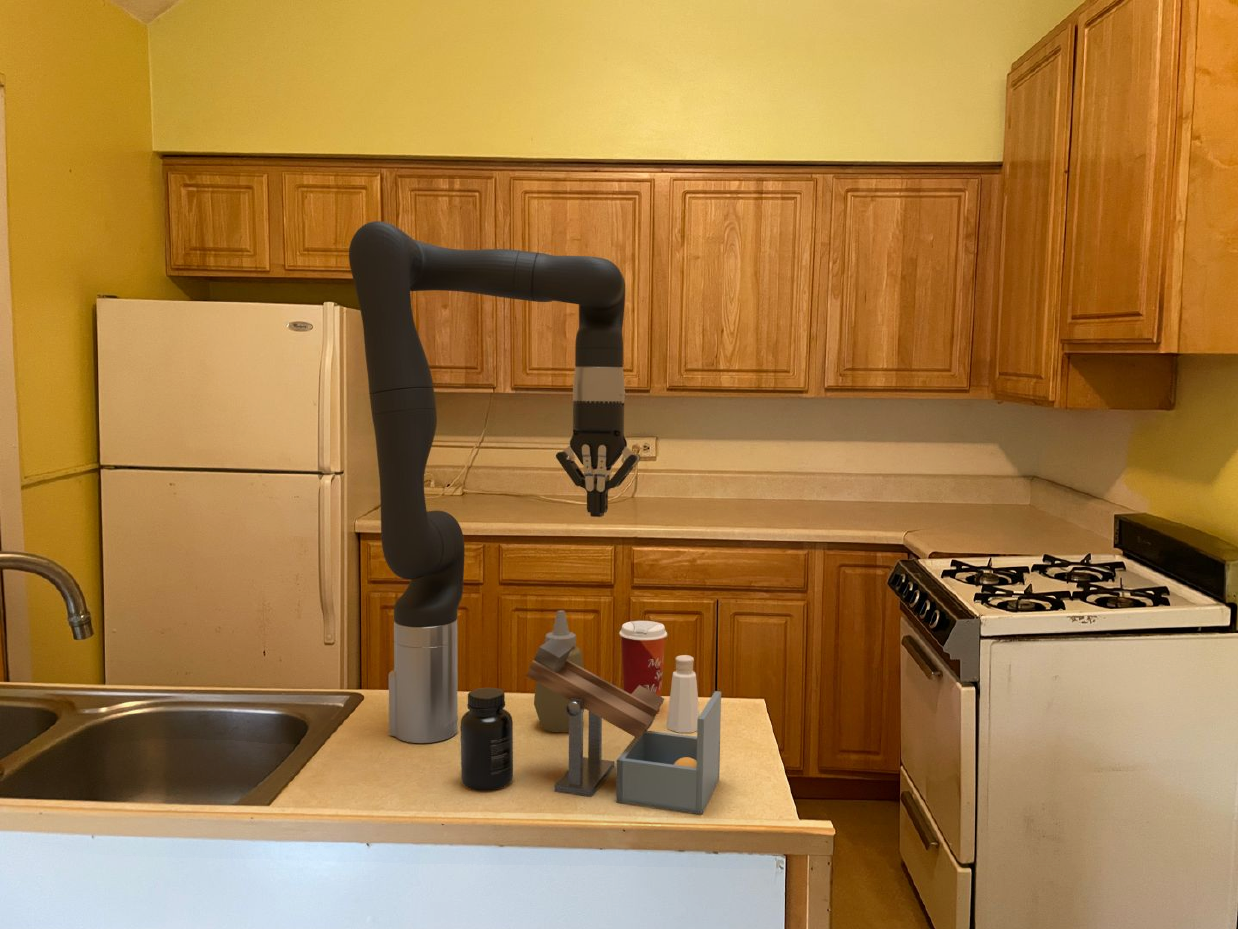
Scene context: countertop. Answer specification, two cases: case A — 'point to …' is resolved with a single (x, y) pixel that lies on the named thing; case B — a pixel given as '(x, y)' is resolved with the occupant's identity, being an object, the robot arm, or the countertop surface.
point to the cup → (673, 766)
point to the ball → (686, 762)
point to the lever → (594, 690)
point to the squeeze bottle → (548, 701)
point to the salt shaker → (683, 697)
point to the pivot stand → (582, 770)
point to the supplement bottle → (486, 741)
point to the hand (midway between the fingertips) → (597, 516)
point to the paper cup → (643, 655)
